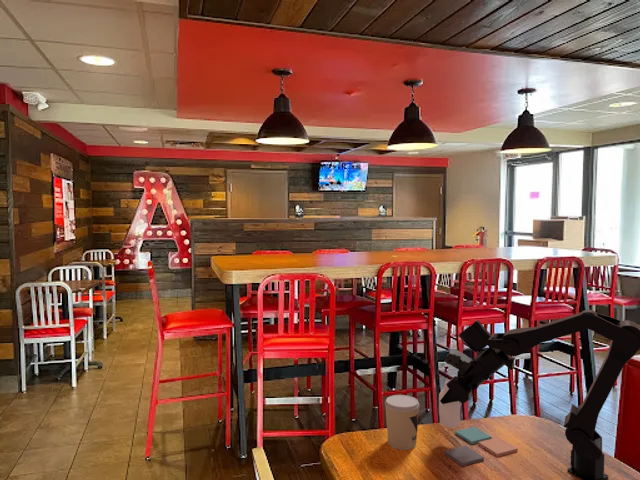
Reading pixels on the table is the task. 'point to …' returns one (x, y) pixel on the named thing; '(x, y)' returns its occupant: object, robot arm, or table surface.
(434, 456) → the table surface
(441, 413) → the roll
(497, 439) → the terracotta tile
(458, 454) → the charcoal tile
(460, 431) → the teal tile
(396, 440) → the coffee cup
